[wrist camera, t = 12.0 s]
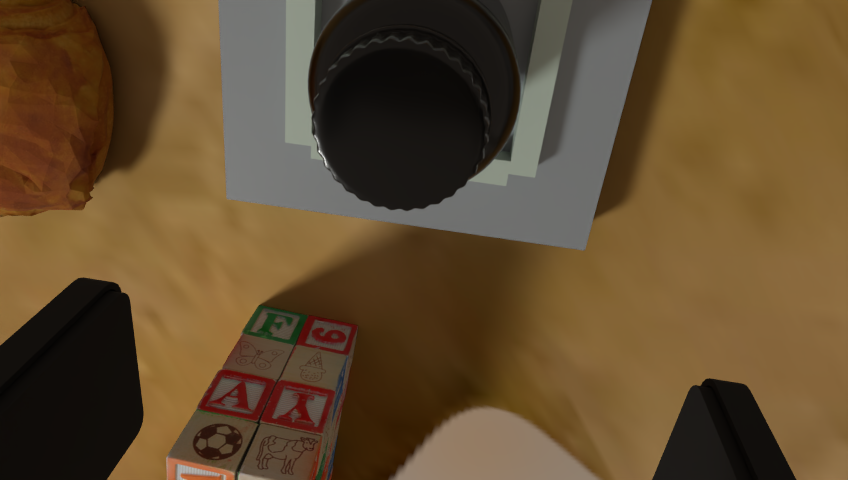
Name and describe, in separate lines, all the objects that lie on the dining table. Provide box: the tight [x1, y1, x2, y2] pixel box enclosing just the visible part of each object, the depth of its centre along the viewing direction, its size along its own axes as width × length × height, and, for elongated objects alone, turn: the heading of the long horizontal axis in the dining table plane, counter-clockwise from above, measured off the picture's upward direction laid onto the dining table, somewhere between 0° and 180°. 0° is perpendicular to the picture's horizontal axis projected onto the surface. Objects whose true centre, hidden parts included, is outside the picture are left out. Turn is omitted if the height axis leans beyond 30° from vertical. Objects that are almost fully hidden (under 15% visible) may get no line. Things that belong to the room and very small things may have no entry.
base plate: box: [219, 0, 652, 250], centre depth 28 cm, size 18×18×4 cm
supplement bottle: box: [308, 0, 521, 211], centre depth 22 cm, size 7×7×12 cm
